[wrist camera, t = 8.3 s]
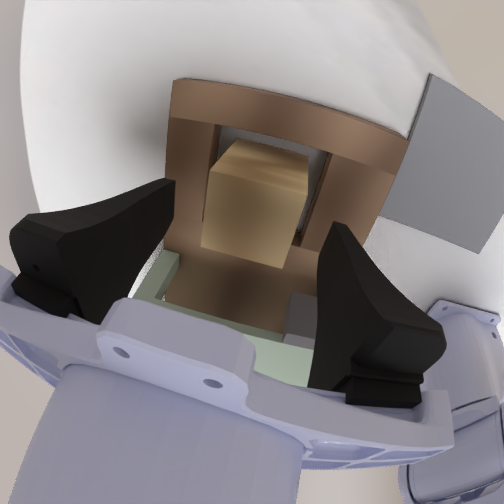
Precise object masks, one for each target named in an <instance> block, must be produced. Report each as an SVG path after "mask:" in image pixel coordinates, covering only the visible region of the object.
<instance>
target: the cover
mask: <svg viewBox="0 0 504 504" xmlns="http://www.w3.org/2000/svg"><path fill="white" fill-rule="evenodd" d="M178 268H179V254H178V253H175V252H171V251H168V250H164V249H163V250H162V252H161V253H160V255H159V256H158V258H157V259H156V261H155V262H154V264H153V265H152V267H151V269H150V270H149V272H148V273H147V275H146V276H145V278H144V280H143V281H142V283H141V284H140V286H139V288H138V289H137V291H136V293H135V294H134V296H133V297H132V298H133V299H139V300H144V301H147V302H150V303H153V304H156V305H159V306H162V307H165V308H168V309H171V310H174V311H178V312H181V313H184V314H187V315H191V316H194V317H197V318H201V319H204V320H208V321H211V322H215V323H218V324H222V325H225V326H227V327H230V328H232V329H234V330H236V331H239V332H241V333H242V334H243V335H244V336H246V337H247V338H248V339H249V340H250V341H251V342H252V343H253V344H254V345H255V349H256V360H255V365H254V370H255V371H257V372H259V373H262V374H264V375H267V376H269V377H272V378H274V379H277V380H279V381H282V382H284V383H287V384H290V385H296V386H301V387H307V384H308V380H309V375H310V369H311V364H312V358H313V352H314V345H315V337H316V329H317V297H315V296H311V295H307V294H303V293H299V292H295V291H292V292H291V294H290V297H289V299H288V301H287V309H286V316H285V324H284V331H283V334H279V333H275V332H271V331H267V330H263V329H259V328H255V327H251V326H248V325H244V324H240V323H236V322H233V321H229V320H225V319H222V318H218V317H215V316H211V315H208V314H204V313H201V312H197V311H194V310H191V309H188V308H184V307H181V306H178V305H175V304H171V303H168V302H165V301H162V300H161V299H162V297H163V296H164V294H165V292H166V290H167V288H168V286H169V284H170V283H171V281H172V279H173V277H174V275H175V273H176V271H177V270H178Z"/></svg>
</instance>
